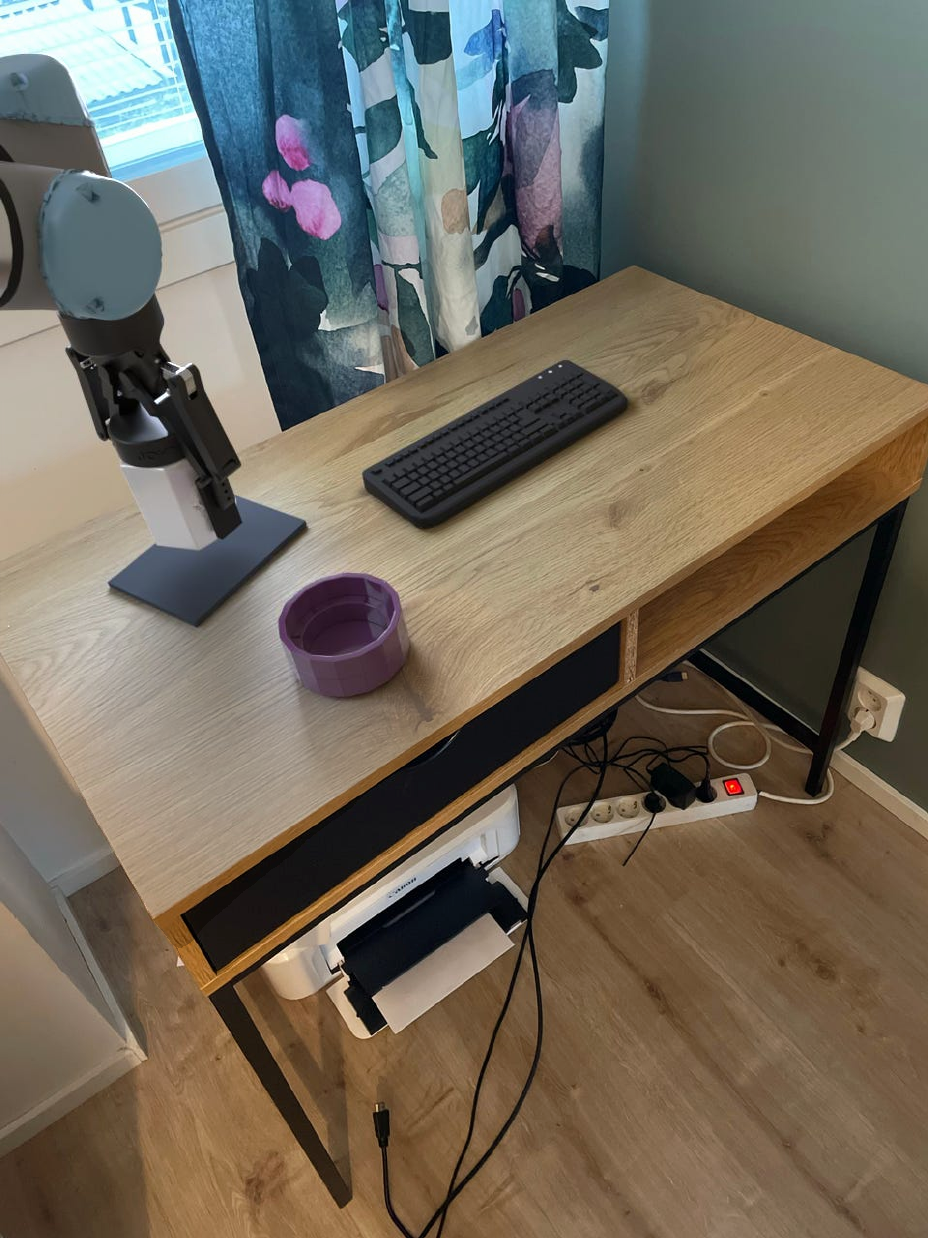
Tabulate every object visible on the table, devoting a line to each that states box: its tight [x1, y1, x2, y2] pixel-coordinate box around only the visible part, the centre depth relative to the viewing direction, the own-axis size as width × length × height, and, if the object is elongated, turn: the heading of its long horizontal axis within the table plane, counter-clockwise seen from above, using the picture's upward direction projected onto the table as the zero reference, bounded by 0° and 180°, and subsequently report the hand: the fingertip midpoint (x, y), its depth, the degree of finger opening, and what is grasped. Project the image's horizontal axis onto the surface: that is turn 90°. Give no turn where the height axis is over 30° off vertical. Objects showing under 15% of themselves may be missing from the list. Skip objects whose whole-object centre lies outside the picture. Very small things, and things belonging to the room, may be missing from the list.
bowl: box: [277, 571, 411, 698], centre depth 76 cm, size 10×10×5 cm
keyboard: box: [361, 359, 629, 530], centre depth 96 cm, size 30×11×2 cm, turn 130°
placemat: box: [107, 494, 308, 628], centre depth 89 cm, size 16×12×1 cm
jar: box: [108, 392, 236, 551], centre depth 82 cm, size 9×8×12 cm
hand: (194, 516), depth 85 cm, fingers closed on jar, 9 cm apart
